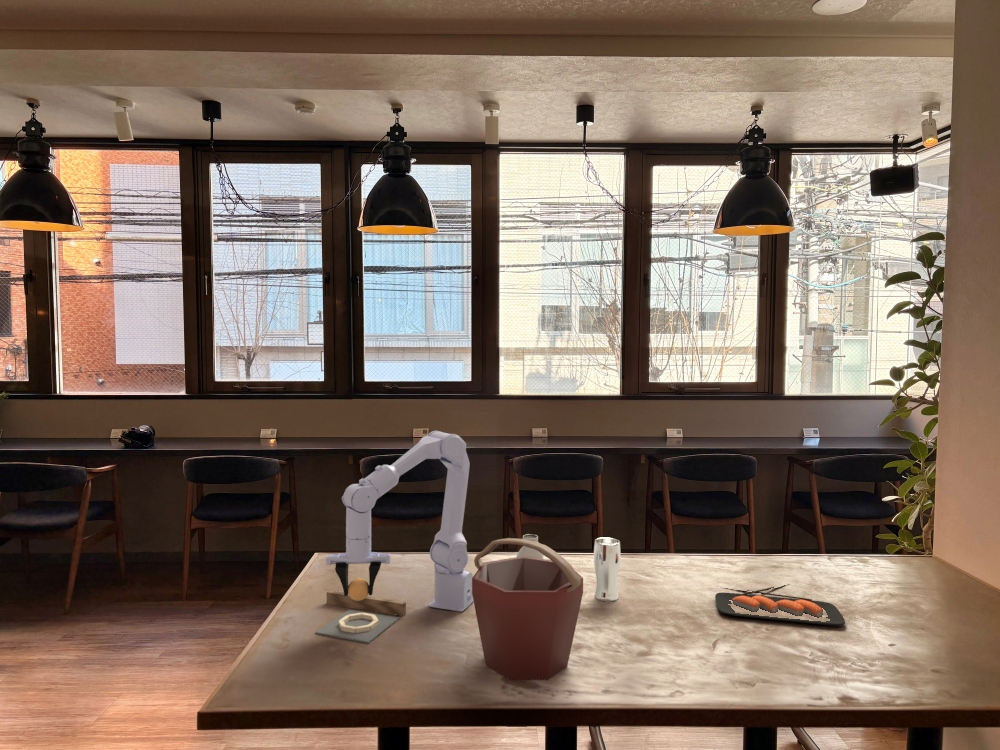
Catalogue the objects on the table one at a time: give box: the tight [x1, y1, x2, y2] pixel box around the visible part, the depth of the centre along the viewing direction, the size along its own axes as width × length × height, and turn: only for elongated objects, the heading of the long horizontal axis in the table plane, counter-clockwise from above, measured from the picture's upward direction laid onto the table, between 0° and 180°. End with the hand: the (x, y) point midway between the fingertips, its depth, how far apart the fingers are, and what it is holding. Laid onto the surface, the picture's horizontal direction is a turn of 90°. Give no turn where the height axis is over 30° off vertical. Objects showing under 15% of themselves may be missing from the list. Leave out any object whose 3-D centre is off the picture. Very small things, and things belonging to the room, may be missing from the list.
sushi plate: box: [714, 586, 846, 626], centre depth 171 cm, size 29×30×4 cm
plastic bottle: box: [516, 533, 544, 559], centre depth 158 cm, size 6×7×20 cm
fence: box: [326, 590, 407, 617], centre depth 163 cm, size 22×1×3 cm, turn 70°
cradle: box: [315, 608, 401, 644], centre depth 153 cm, size 14×14×1 cm
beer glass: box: [593, 537, 621, 602], centre depth 172 cm, size 7×7×15 cm
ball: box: [348, 577, 369, 601], centre depth 153 cm, size 5×5×5 cm
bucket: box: [472, 537, 584, 681], centre depth 136 cm, size 24×22×25 cm
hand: (358, 594), depth 153 cm, fingers closed on ball, 5 cm apart
